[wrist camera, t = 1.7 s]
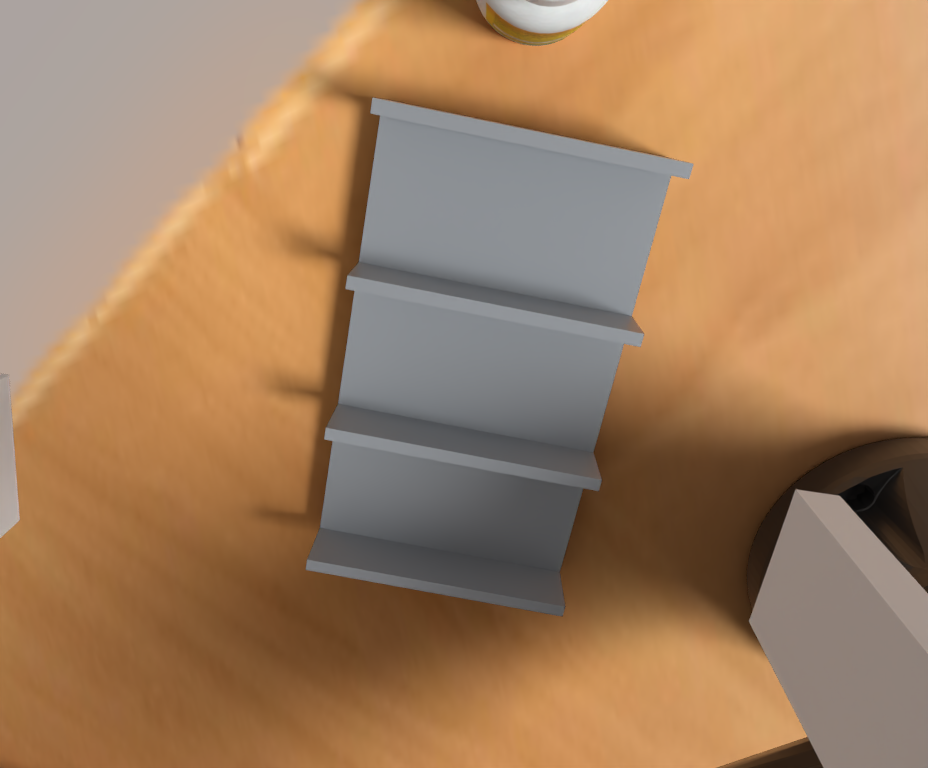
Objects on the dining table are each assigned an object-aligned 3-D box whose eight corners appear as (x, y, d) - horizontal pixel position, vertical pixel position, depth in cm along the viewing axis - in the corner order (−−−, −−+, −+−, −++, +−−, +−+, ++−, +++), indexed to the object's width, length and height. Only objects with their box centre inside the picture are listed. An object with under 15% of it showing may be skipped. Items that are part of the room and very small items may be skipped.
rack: (669, 157, 34) (693, 163, 30) (555, 568, 41) (562, 616, 37) (386, 99, 33) (372, 97, 29) (323, 525, 41) (305, 569, 37)
